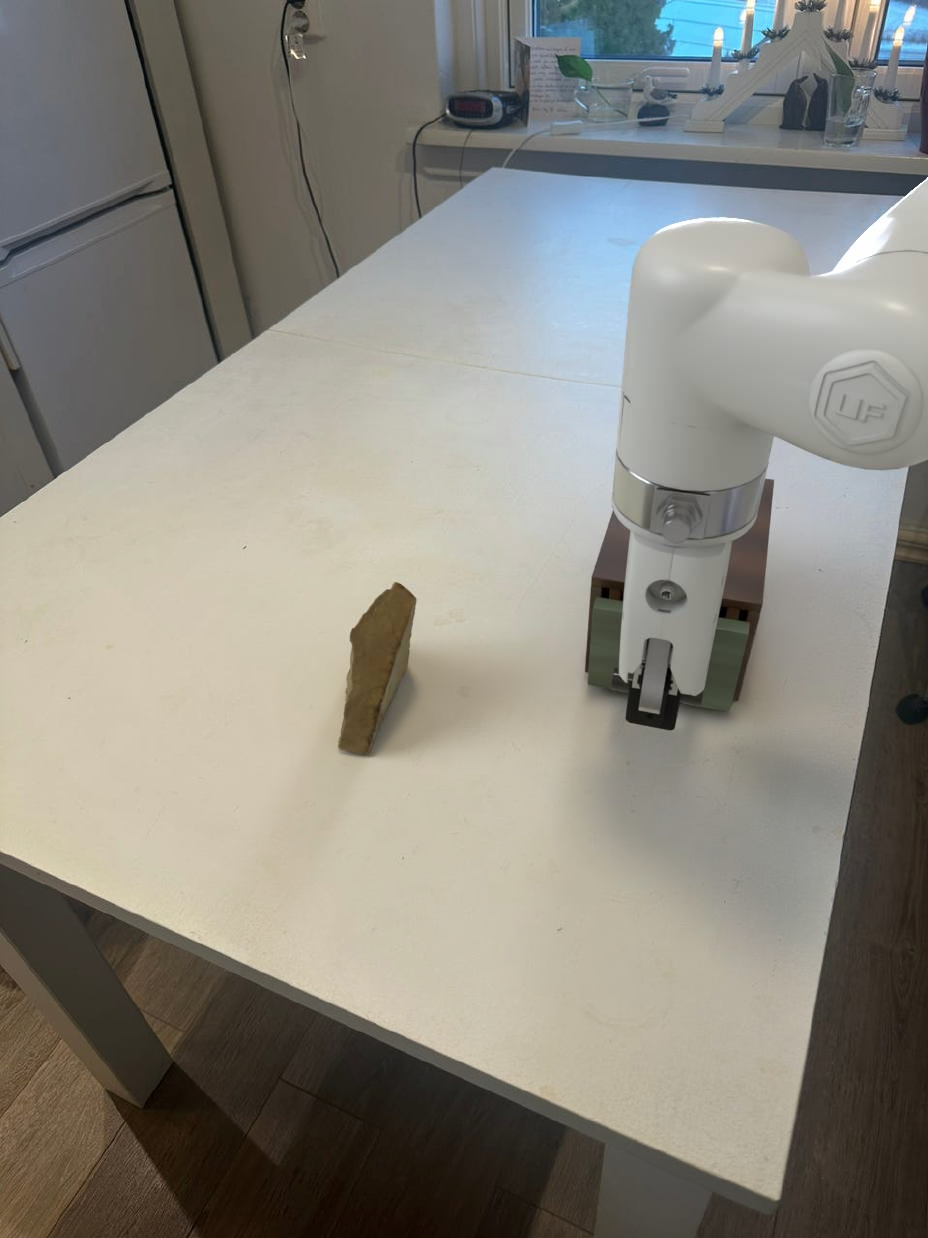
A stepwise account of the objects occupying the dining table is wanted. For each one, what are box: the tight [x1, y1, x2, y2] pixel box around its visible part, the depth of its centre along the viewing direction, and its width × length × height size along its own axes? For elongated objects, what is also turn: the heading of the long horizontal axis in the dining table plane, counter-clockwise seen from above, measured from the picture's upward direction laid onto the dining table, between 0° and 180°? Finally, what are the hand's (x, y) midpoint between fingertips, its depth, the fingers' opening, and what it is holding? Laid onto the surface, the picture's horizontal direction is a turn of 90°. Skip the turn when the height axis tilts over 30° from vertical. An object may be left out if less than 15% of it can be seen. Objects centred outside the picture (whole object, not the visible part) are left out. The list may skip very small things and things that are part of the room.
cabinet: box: [584, 478, 775, 702], centre depth 69 cm, size 16×12×10 cm
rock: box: [337, 581, 417, 755], centre depth 64 cm, size 11×9×10 cm
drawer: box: [587, 588, 750, 713], centre depth 65 cm, size 19×10×8 cm, turn 162°
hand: (651, 717), depth 57 cm, fingers closed
